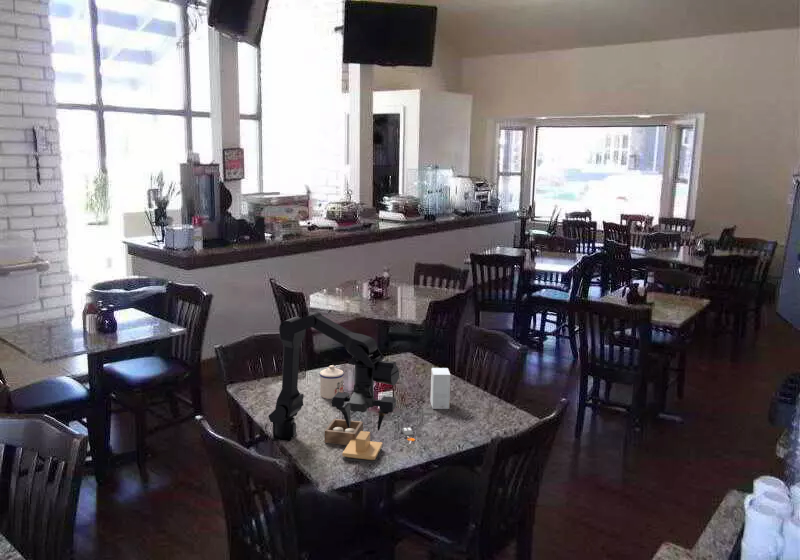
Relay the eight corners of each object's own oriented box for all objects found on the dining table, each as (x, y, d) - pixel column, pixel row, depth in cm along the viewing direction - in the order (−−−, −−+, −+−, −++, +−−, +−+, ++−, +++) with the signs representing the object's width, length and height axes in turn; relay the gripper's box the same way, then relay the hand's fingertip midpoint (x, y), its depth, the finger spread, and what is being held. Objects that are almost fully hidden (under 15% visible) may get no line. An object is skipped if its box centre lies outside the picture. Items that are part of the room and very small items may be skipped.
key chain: (400, 431, 224) (400, 427, 224) (411, 430, 225) (411, 426, 225) (408, 447, 212) (408, 443, 212) (420, 447, 213) (420, 442, 212)
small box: (449, 409, 243) (450, 374, 241) (432, 409, 243) (433, 374, 240) (446, 401, 251) (448, 367, 249) (430, 401, 251) (431, 367, 248)
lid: (342, 458, 201) (342, 440, 200) (351, 444, 211) (351, 427, 210) (374, 462, 200) (375, 443, 198) (382, 447, 209) (382, 430, 208)
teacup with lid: (338, 401, 249) (338, 370, 247) (315, 398, 251) (315, 368, 249) (350, 390, 260) (350, 361, 258) (328, 387, 263) (328, 358, 260)
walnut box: (324, 442, 213) (324, 430, 212) (333, 430, 223) (333, 418, 222) (355, 445, 211) (355, 433, 211) (363, 433, 221) (363, 421, 220)
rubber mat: (343, 459, 202) (343, 457, 202) (351, 446, 211) (351, 445, 210) (375, 463, 200) (375, 461, 200) (382, 450, 209) (382, 448, 209)
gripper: (326, 385, 195) (326, 436, 198) (388, 391, 191) (388, 442, 194) (337, 373, 205) (337, 421, 208) (396, 378, 202) (396, 427, 205)
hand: (363, 428), depth 204 cm, fingers open, 9 cm apart
